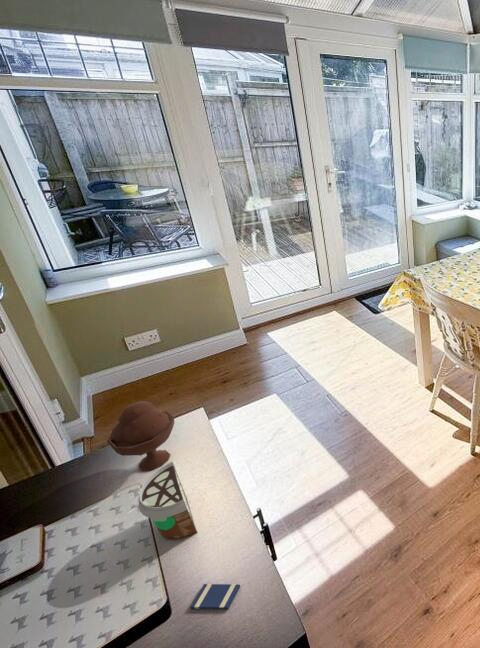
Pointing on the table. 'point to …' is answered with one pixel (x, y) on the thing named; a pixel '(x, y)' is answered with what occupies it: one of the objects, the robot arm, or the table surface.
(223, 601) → the tea towel
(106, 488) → the table surface
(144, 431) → the ice cream bowl
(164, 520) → the food container
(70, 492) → the table surface
